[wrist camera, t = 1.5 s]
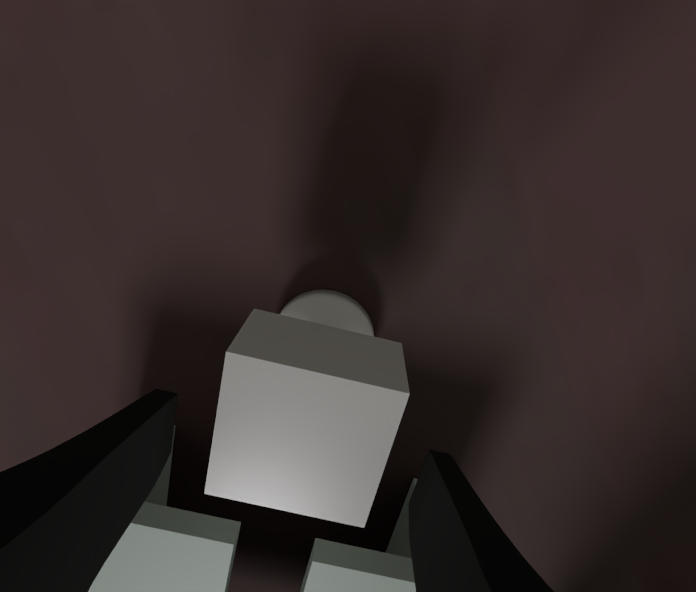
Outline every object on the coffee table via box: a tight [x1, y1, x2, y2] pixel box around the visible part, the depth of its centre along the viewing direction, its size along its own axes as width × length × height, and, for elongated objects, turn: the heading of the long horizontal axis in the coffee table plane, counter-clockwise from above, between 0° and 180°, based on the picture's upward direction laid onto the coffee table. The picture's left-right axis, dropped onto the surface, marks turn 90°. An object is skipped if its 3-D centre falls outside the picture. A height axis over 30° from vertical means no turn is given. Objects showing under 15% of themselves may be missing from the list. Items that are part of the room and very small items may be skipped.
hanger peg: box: [204, 289, 410, 528], centre depth 16 cm, size 5×5×7 cm
